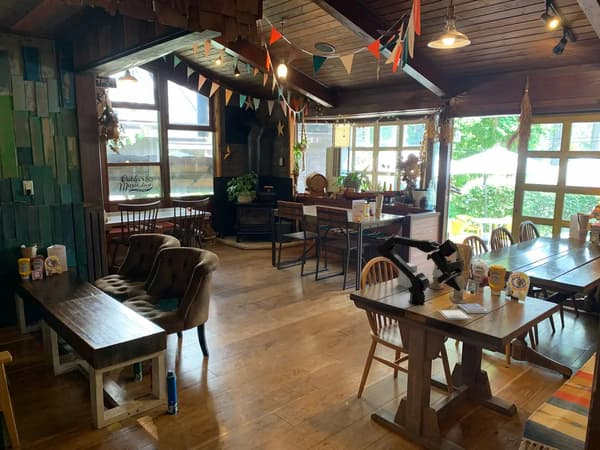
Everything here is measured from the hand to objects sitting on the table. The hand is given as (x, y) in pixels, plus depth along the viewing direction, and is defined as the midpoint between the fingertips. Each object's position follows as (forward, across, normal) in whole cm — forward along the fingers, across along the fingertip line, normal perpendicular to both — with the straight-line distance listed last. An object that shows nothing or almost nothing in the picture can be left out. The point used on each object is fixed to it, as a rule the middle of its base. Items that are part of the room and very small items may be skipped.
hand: (461, 289), depth 206 cm
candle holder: (-10, +34, +28) cm, 45 cm away
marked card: (+7, -1, +10) cm, 13 cm away
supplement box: (-19, +24, +38) cm, 49 cm away
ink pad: (+10, +12, +8) cm, 17 cm away
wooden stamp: (+3, 0, +6) cm, 7 cm away
